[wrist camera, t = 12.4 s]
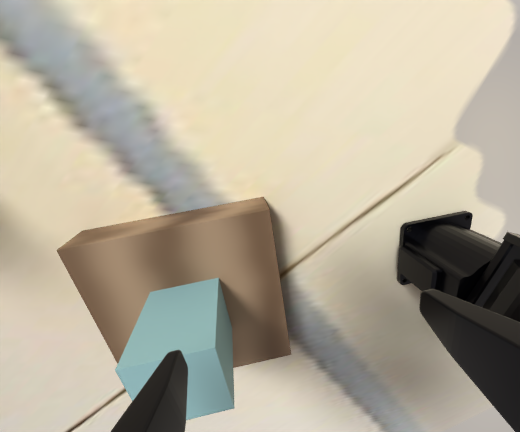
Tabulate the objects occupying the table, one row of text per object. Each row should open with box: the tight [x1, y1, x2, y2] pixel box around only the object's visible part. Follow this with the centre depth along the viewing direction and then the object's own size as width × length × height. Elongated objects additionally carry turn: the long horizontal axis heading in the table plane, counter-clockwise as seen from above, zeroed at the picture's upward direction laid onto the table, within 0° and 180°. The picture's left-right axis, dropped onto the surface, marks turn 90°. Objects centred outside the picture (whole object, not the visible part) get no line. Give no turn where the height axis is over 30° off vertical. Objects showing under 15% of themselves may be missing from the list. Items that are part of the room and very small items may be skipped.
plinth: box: [57, 197, 291, 368], centre depth 20 cm, size 14×14×3 cm
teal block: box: [115, 278, 234, 420], centre depth 16 cm, size 5×5×6 cm
